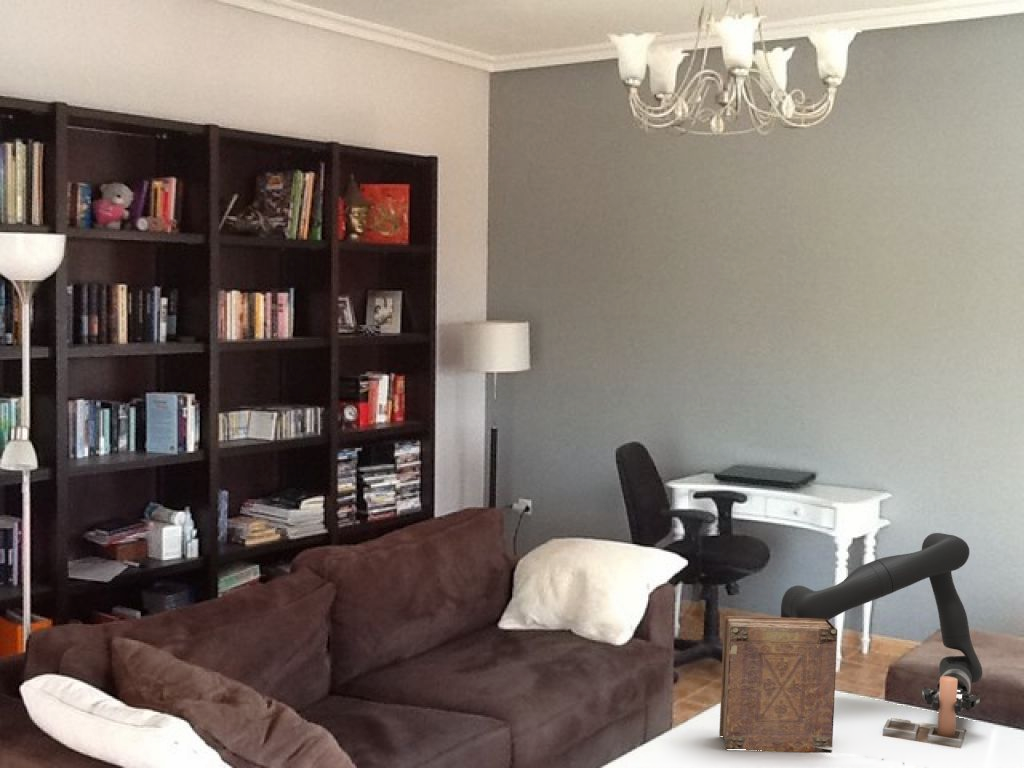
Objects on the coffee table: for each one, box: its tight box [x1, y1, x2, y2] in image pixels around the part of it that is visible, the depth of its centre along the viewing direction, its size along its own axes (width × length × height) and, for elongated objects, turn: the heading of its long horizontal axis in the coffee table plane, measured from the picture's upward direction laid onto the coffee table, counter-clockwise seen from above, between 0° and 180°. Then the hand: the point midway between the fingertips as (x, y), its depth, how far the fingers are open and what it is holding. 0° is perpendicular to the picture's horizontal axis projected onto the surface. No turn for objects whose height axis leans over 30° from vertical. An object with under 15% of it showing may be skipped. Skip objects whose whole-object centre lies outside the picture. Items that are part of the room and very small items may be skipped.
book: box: [718, 615, 838, 754], centre depth 304 cm, size 25×9×30 cm, turn 89°
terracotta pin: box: [937, 676, 958, 738], centre depth 306 cm, size 4×4×14 cm
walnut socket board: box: [882, 717, 967, 749], centre depth 311 cm, size 18×14×3 cm
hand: (946, 707), depth 303 cm, fingers closed on terracotta pin, 4 cm apart
